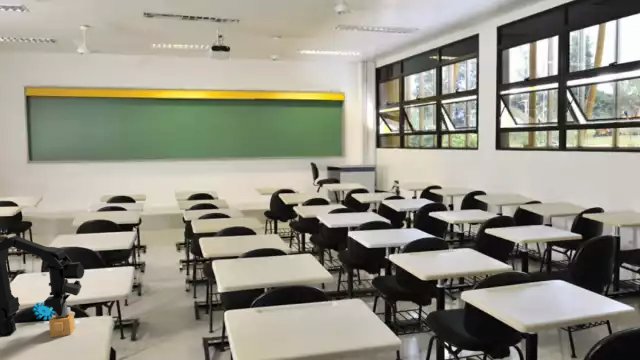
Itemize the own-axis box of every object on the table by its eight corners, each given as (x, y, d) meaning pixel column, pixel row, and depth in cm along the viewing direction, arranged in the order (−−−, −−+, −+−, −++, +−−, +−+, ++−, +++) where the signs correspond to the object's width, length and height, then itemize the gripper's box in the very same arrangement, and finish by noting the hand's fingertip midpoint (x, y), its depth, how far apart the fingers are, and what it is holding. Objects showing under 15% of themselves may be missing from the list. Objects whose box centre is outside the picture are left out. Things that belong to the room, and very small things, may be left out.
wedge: (55, 322, 208) (54, 304, 207) (57, 320, 210) (56, 302, 209) (66, 321, 208) (64, 303, 207) (67, 319, 211) (66, 301, 210)
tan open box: (48, 338, 204) (46, 319, 203) (59, 325, 218) (58, 306, 217) (69, 336, 205) (67, 317, 204) (78, 323, 219) (77, 304, 218)
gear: (42, 320, 219) (29, 304, 221) (35, 329, 220) (22, 312, 222) (61, 314, 230) (48, 298, 232) (53, 323, 231) (41, 307, 233)
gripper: (71, 284, 199) (75, 321, 201) (84, 270, 218) (87, 304, 219) (41, 286, 197) (45, 324, 199) (56, 273, 215) (60, 307, 217)
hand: (61, 314), depth 209 cm, fingers closed on wedge, 2 cm apart
